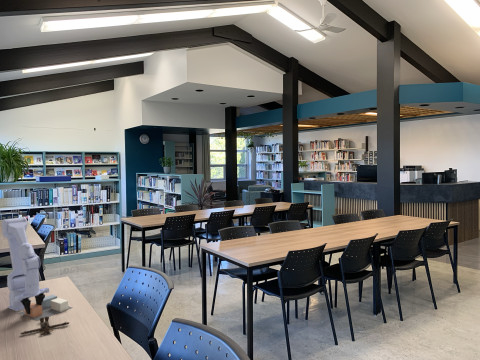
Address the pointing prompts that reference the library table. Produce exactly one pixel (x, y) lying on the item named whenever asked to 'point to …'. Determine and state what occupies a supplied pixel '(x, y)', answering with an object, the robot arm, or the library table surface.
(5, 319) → the library table surface
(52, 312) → the charcoal mat
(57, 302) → the cream brick
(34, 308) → the terracotta brick
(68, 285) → the library table surface
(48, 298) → the slate brick
